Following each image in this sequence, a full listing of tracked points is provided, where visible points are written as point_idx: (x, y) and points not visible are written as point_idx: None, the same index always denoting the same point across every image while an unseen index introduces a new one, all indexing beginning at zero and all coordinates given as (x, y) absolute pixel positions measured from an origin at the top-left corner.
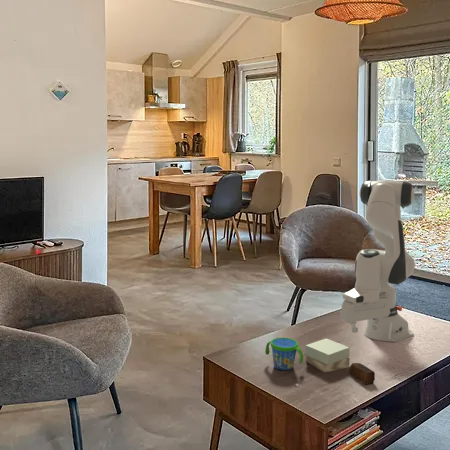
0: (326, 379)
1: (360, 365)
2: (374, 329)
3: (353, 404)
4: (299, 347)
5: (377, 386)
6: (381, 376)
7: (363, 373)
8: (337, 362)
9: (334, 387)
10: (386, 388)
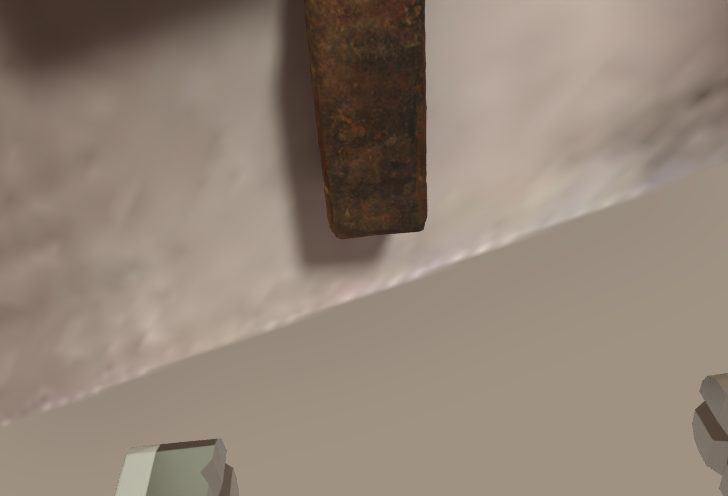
0: None
1: (378, 71)
2: (693, 423)
3: (109, 371)
4: None
5: None
6: (563, 82)
7: (325, 195)
8: None
9: (45, 152)
10: (449, 261)
